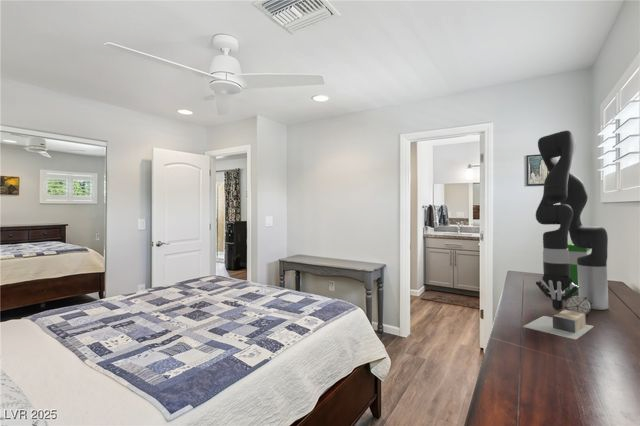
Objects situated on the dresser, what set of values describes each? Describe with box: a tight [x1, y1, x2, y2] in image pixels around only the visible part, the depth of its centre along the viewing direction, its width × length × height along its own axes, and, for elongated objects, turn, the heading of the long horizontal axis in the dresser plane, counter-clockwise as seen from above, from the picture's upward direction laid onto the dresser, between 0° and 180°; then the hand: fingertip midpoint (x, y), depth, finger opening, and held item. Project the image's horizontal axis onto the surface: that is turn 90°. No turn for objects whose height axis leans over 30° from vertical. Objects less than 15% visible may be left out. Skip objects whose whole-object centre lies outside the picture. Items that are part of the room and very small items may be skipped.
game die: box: [563, 294, 594, 317], centre depth 118 cm, size 9×8×10 cm
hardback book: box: [567, 241, 592, 297], centre depth 150 cm, size 18×7×24 cm, turn 134°
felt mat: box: [522, 315, 595, 341], centre depth 108 cm, size 18×15×1 cm
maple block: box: [552, 309, 587, 333], centre depth 107 cm, size 6×4×11 cm
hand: (558, 310), depth 110 cm, fingers closed
